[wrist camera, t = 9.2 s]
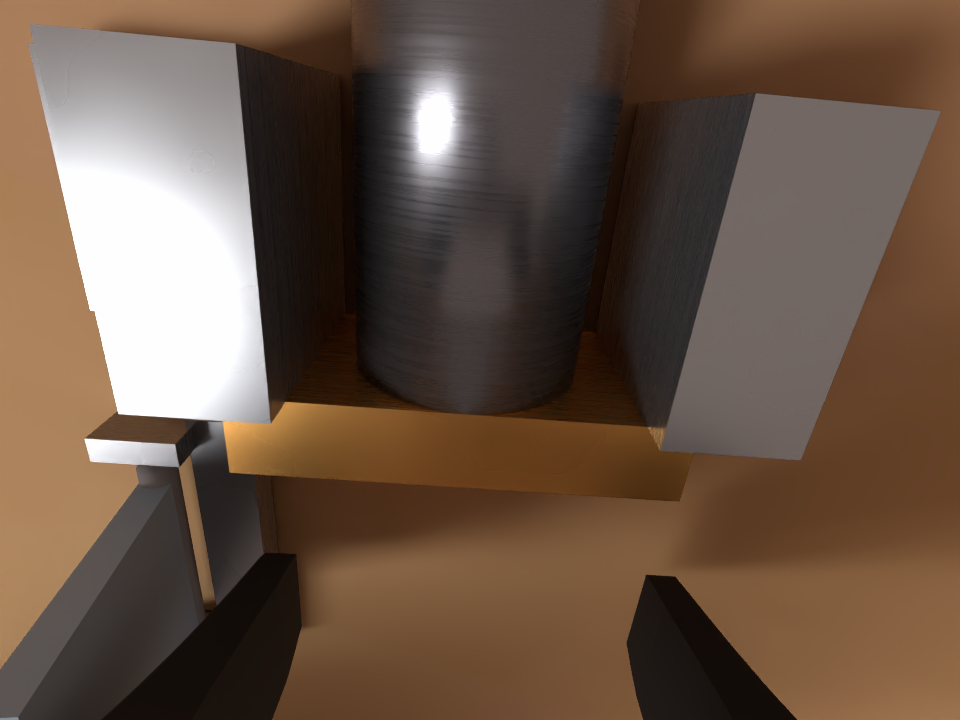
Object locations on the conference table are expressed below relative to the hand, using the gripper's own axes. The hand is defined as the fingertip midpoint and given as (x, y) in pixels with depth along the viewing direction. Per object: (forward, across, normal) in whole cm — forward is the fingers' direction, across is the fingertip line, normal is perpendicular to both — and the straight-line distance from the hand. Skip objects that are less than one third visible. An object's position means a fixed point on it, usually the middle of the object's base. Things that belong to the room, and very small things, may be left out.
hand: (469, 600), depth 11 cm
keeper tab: (+1, +6, 0) cm, 6 cm away
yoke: (+2, 0, -8) cm, 8 cm away
